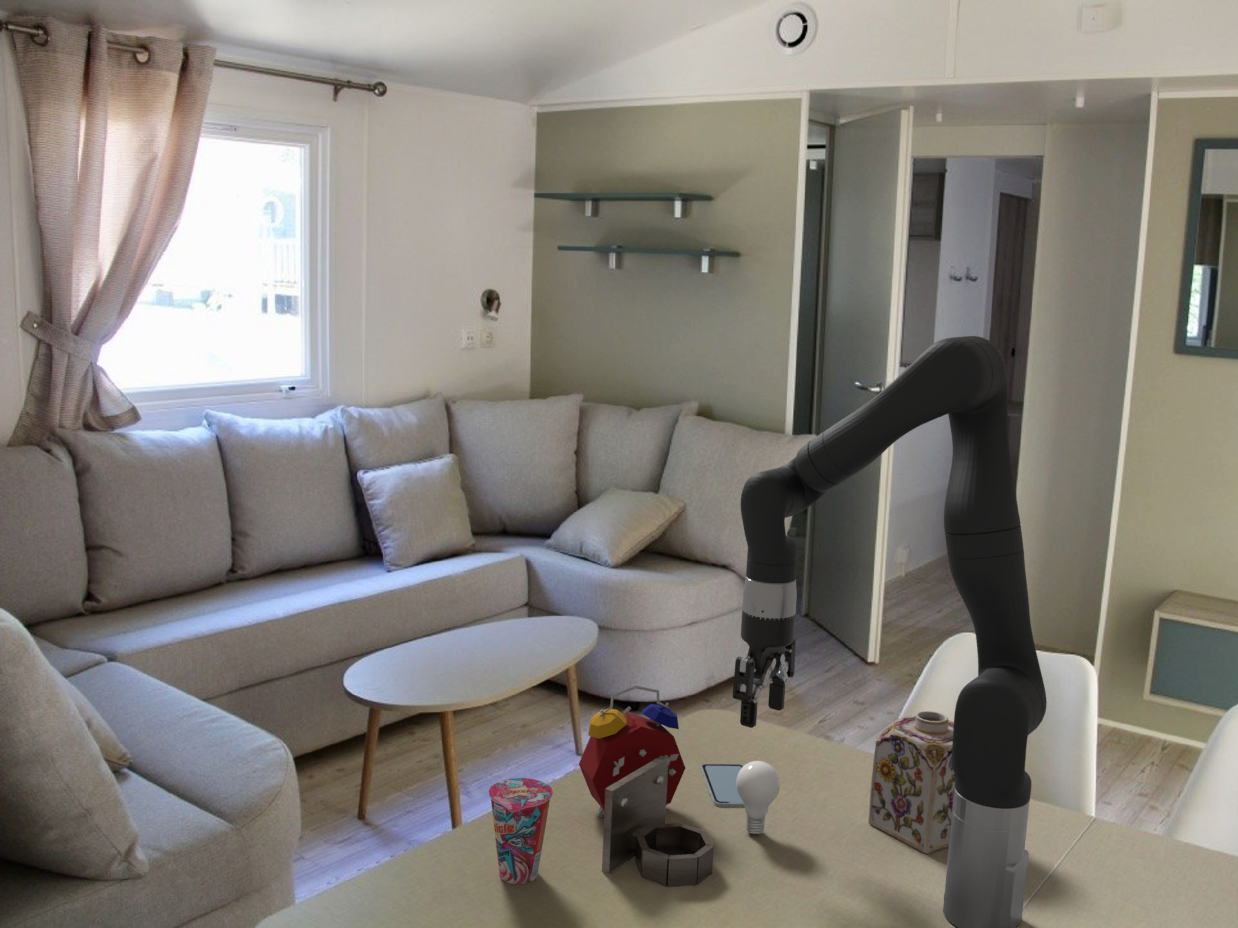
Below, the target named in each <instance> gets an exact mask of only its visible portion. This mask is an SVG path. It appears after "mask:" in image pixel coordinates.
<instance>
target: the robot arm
mask: <svg viewBox="0 0 1238 928" xmlns="http://www.w3.org/2000/svg"><path fill="white" fill-rule="evenodd" d="M1008 379H1009V377H1008V368H1007V364H1006V361H1005V358H1004V356H1003V354H1002V352H1001V350H1000V349H999V348H998V347H997V346H996V345H995V344H994V343H993V342H992V341H991V340H989V339H987V338H985V337H981V336H979V335H978V336H977V335H967V336H952V337H947V338H944V339H940V340H938V341H936V342H934V343H933V344H931V345H930V346H929V347H927V348H926V349H925V350H924V351H923V352H922V353H921V354H920V355H919V356H918V357H917V358H916V359H915V360H914V361H913V362H912V363H911V364H909V366H908V367H906V369H904V370H903V372H901V373H900V375H898V376H897V377H896V378H895V379H894V380H893V381H892V382H891V383H890V384H888V385H887V386H886V387H885V388H884V389H882V390H881V391H880V392H879V393H878V394H877V395H876V396H874V397H873V398H871V399H870V400H869V401H867V402H866V403H865V404H863V405H862V406H860V407H859V408H857V409H856V410H855V411H853V412H852V413H850V414H848V415H846V416H845V417H843V418H842V419H841V420H839V421H838V422H835V423H834V424H833V425H831V426H830V427H829V428H827V429H825V430H824V431H823V432H821V433H820V434H818V435H817V436H815V437H814V438H812V439H810V440H809V441H808V442H805V444H804V445H803V446H801V448H800V449H798V451H797V453H796V455H795V457H794V458H793V459H791V460H790V461H788V462H787V463H784V464H783V465H781V466H778V467H776V468H772V469H767V470H762V471H759V472H755V473H754V474H752V475H750V477H748V479H747V480H746V481H745V483H744V485H743V488H742V491H741V494H740V514H741V520H742V526H743V532H744V537H745V540H746V545H747V553H746V554H747V555H746V567H745V568H746V570H745V571H746V572H745V582H744V585H743V592H742V605H741V606H742V607H741V623H740V638H741V639H742V641H744V642H745V643H746V644H747V646H748V652H747V655H746V657H742V656H737V657H736V658H735V662H734V665H735V666H734V674H733V675H734V676H733V684H732V685H733V687H732V698H733V699H734V700H739V701H740V716H739V717H740V718H739V721H740V722H739V723H740V725H741V726H743V727H747V728H751V729H752V728H754V727H756V726H757V717H758V716H757V715H758V705H759V704H758V700H759V696H760V694H761V692H762V690H765V688H766V687H767V684H768V682H769V681H770V683H769V685H768V686H769V688H768V689H769V690H768V708H769V709H772V710H775V711H782V710H783V709H784V708H785V697H786V696H785V695H786V686H787V685H788V683H789V678H791V679H792V678H793V677H794V675H795V668H796V667H795V665H796V664H795V663H796V639H795V630H796V629H795V628H796V613H797V610H796V609H797V600H798V599H797V595H798V594H797V591H798V590H797V569H798V568H797V566H798V546H797V543H796V540H794V539H793V538H792V537H791V536H788V535H787V534H786V525H785V520H786V518H789V517H793V516H796V515H798V514H799V513H802V512H803V511H805V510H806V509H808V508H809V507H811V506H812V505H814V504H815V503H816V502H818V500H819V499H821V498H822V497H823V496H824V495H825V494H826V493H827V492H829V491H830V489H833V488H835V487H837V486H838V485H840V484H842V483H844V482H845V481H846V480H848V479H850V478H851V477H853V476H854V475H856V474H858V473H859V472H861V471H863V470H864V469H865V468H866V467H868V466H869V465H870V464H872V463H873V462H874V461H876V460H877V459H878V458H879V457H881V455H883V454H884V452H886V451H887V450H888V448H889V447H891V446H892V445H893V444H894V443H895V442H896V441H898V440H899V439H901V438H902V437H904V436H905V435H906V434H909V432H912V431H913V430H915V429H917V428H918V427H920V426H922V425H925V424H927V423H929V422H931V421H933V420H936V419H938V418H941V417H943V416H946V415H948V420H949V427H950V434H951V441H952V443H951V444H952V457H951V468H950V472H949V477H948V484H947V488H946V494H945V502H944V507H943V508H944V509H943V530H944V537H945V544H946V545H945V546H946V552H947V561H948V566H949V570H950V575H951V577H952V580H953V582H954V585H955V587H956V588H957V591H958V593H959V595H960V597H961V599H962V601H963V603H964V605H965V608H966V609H967V611H968V614H969V615H970V619H971V621H972V624H973V629H974V634H975V641H976V648H977V649H976V651H977V668H978V669H977V676H976V677H975V678H973V679H972V680H970V681H969V682H968V683H967V684H966V685H965V686H964V687H963V688H962V689H961V690H960V692H959V694H958V696H957V700H956V704H955V709H954V716H953V722H954V727H953V745H952V767H953V771H954V774H955V788H954V799H953V809H952V819H951V830H950V841H949V846H948V852H947V854H948V855H947V865H946V875H945V884H944V893H943V909H942V912H943V914H944V917H945V918H946V919H947V921H948V922H950V923H951V924H952V925H954V926H955V927H957V928H1017V926H1019V924H1020V922H1021V921H1022V919H1023V911H1024V903H1025V901H1024V900H1025V893H1026V882H1027V875H1028V864H1029V855H1030V854H1029V853H1030V852H1029V851H1028V850H1026V849H1025V848H1026V839H1027V829H1028V820H1029V812H1030V811H1029V810H1030V801H1031V793H1032V779H1031V776H1030V775H1029V773H1028V772H1027V771H1026V758H1027V747H1028V746H1027V744H1028V737H1029V736H1030V734H1032V733H1033V732H1034V731H1035V730H1036V729H1037V728H1038V727H1040V725H1041V724H1042V722H1043V720H1044V718H1045V717H1044V716H1045V714H1046V711H1047V694H1046V688H1045V683H1044V679H1043V678H1044V677H1043V675H1042V670H1041V667H1040V662H1039V658H1038V653H1037V649H1036V644H1035V641H1034V636H1033V632H1032V630H1033V629H1032V623H1031V613H1030V601H1029V591H1028V590H1029V589H1028V583H1027V573H1026V565H1025V564H1026V563H1025V562H1026V561H1025V550H1024V540H1023V535H1022V534H1023V531H1022V525H1021V519H1020V518H1021V517H1020V511H1019V506H1018V505H1019V504H1018V500H1017V491H1016V482H1015V475H1014V468H1013V463H1012V461H1013V460H1012V455H1011V449H1010V438H1009V437H1010V435H1009V433H1010V432H1009V387H1008V386H1009V383H1008V382H1009V380H1008Z"/></svg>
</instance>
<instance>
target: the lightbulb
mask: <svg viewBox="0 0 1238 928" xmlns="http://www.w3.org/2000/svg"><path fill="white" fill-rule="evenodd" d="M736 788H737V791H738V793H739V795H740V797H741V799H742V800H743V802H744V806H745V807H744V810H745V814H746V821H745V830H746V832H747V833H750V834H751V835H753V836H757V835H760V834H762V833H764V831H765V825H766V824H765V822H766V815H767V814H768V811H769V807H770V805H771V804H772V803H773V802H774V800H775V799H776V798H777V796H778V794H779V792H780V790H781V789H780V788H781V780H780V777H779V773H778V772H777V770H776V769H775V767H773V766H772V765H771V764H770V763H767V761H763V760H753V761H752V760H751V761H749V762H747V763H746V764H744V765H743V767H742V768H741V769H740V771H739V772H738V775H737V778H736Z"/></svg>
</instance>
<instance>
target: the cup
mask: <svg viewBox="0 0 1238 928" xmlns="http://www.w3.org/2000/svg"><path fill="white" fill-rule="evenodd" d="M553 791H554V790H553V789H552V787H551V786H550V785H549V784H548V783H546V782H543V781H542V780H539V779H535V778H527V777H514V778H505V779H503V780H500V781H498V782H496V783H494V784H493V785H491V786H490V788H489V790H488V797H489V799H490V801H491V802H490V803H491V811H492V818H493V819H492V820H493V828H494V829H493V830H494V839H495V846H496V847H495V848H496V854H497V856H496V857H497V864H498V871H499V872H498V873H499V874H498V875H499V878H500V879H501V880H503V881H504V883H505V882H506V883H508V884H513V885H523V884H524V885H525V884H529V883H531V882H534V881H535V879H537V878H538V875H539V868H540V862H541V855H542V851H543V844H544V837H545V833H546V832H545V831H546V826H547V821H548V820H547V819H548V814H549V813H548V812H549V807H550V802H551V798H552V797H553V793H554V792H553Z"/></svg>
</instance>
